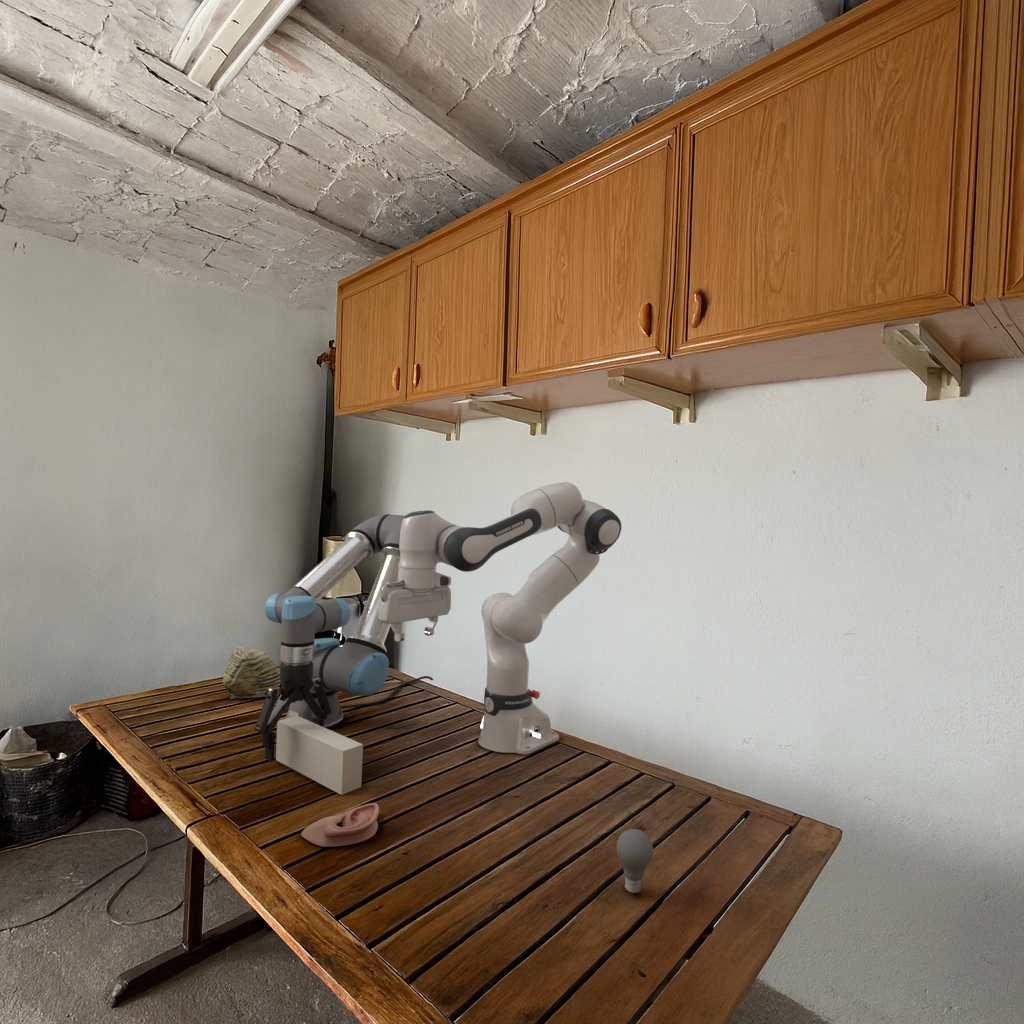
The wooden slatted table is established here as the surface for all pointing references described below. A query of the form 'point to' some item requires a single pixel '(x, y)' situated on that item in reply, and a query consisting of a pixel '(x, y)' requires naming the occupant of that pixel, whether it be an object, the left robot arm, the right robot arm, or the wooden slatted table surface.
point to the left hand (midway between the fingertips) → (293, 752)
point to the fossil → (250, 673)
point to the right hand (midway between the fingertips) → (414, 638)
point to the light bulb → (634, 857)
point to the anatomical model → (344, 827)
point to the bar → (320, 754)
